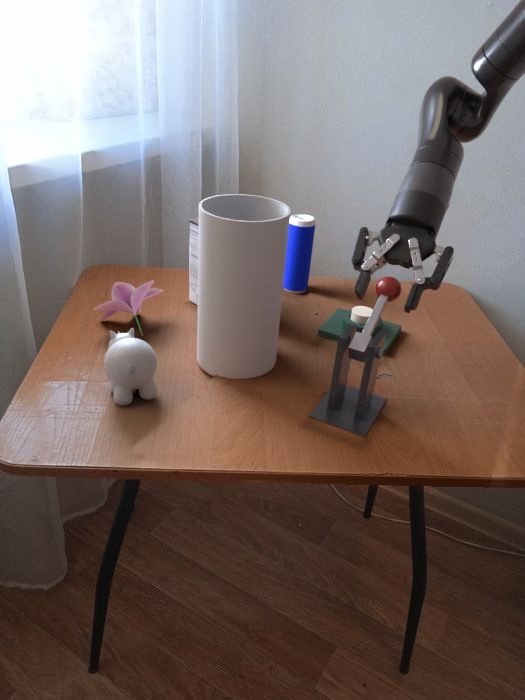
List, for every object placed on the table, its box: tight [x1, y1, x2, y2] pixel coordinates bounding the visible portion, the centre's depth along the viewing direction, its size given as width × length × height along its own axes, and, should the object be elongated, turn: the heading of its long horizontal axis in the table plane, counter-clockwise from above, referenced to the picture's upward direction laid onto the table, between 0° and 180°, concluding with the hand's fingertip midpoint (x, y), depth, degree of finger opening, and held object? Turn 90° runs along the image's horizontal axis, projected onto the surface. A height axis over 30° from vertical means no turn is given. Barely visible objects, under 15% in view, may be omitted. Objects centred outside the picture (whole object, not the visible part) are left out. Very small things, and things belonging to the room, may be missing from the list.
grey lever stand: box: [308, 324, 387, 438], centre depth 76 cm, size 10×8×13 cm
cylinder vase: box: [196, 193, 291, 380], centre depth 83 cm, size 12×12×25 cm
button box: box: [317, 307, 402, 357], centre depth 98 cm, size 12×10×4 cm
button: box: [350, 305, 374, 325], centre depth 97 cm, size 4×4×2 cm
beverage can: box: [283, 213, 316, 294], centre depth 111 cm, size 5×5×15 cm
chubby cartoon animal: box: [103, 327, 159, 406], centre depth 80 cm, size 7×12×8 cm, turn 22°
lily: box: [92, 279, 165, 337], centre depth 95 cm, size 12×12×10 cm
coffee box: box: [188, 217, 199, 306], centre depth 103 cm, size 9×6×16 cm
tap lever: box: [349, 275, 402, 364], centre depth 77 cm, size 14×4×4 cm, turn 153°
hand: (382, 304), depth 79 cm, fingers open, 6 cm apart
